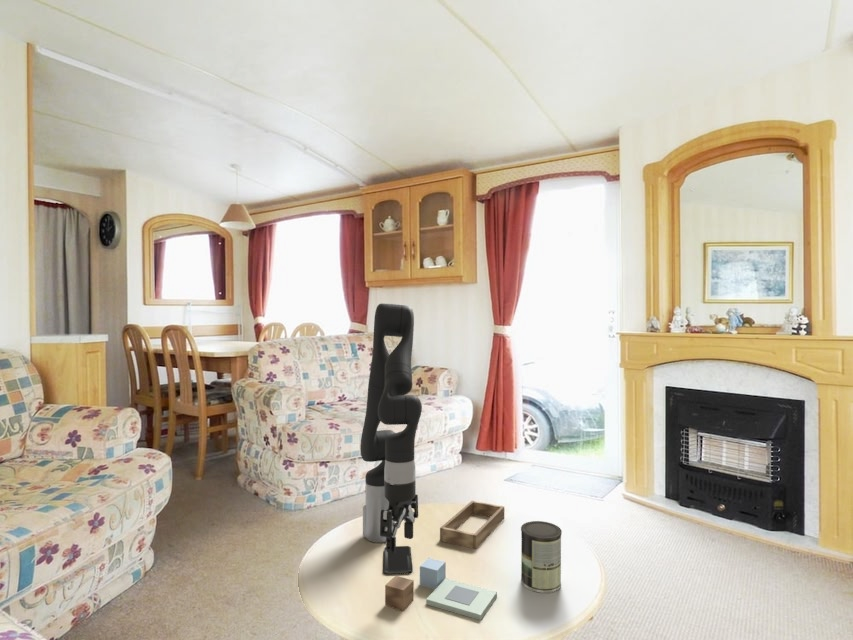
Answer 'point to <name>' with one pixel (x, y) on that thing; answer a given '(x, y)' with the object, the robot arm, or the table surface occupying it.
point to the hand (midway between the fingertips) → (400, 544)
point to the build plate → (462, 598)
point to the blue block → (432, 573)
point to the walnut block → (399, 593)
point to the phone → (398, 561)
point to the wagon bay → (461, 537)
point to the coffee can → (541, 556)
